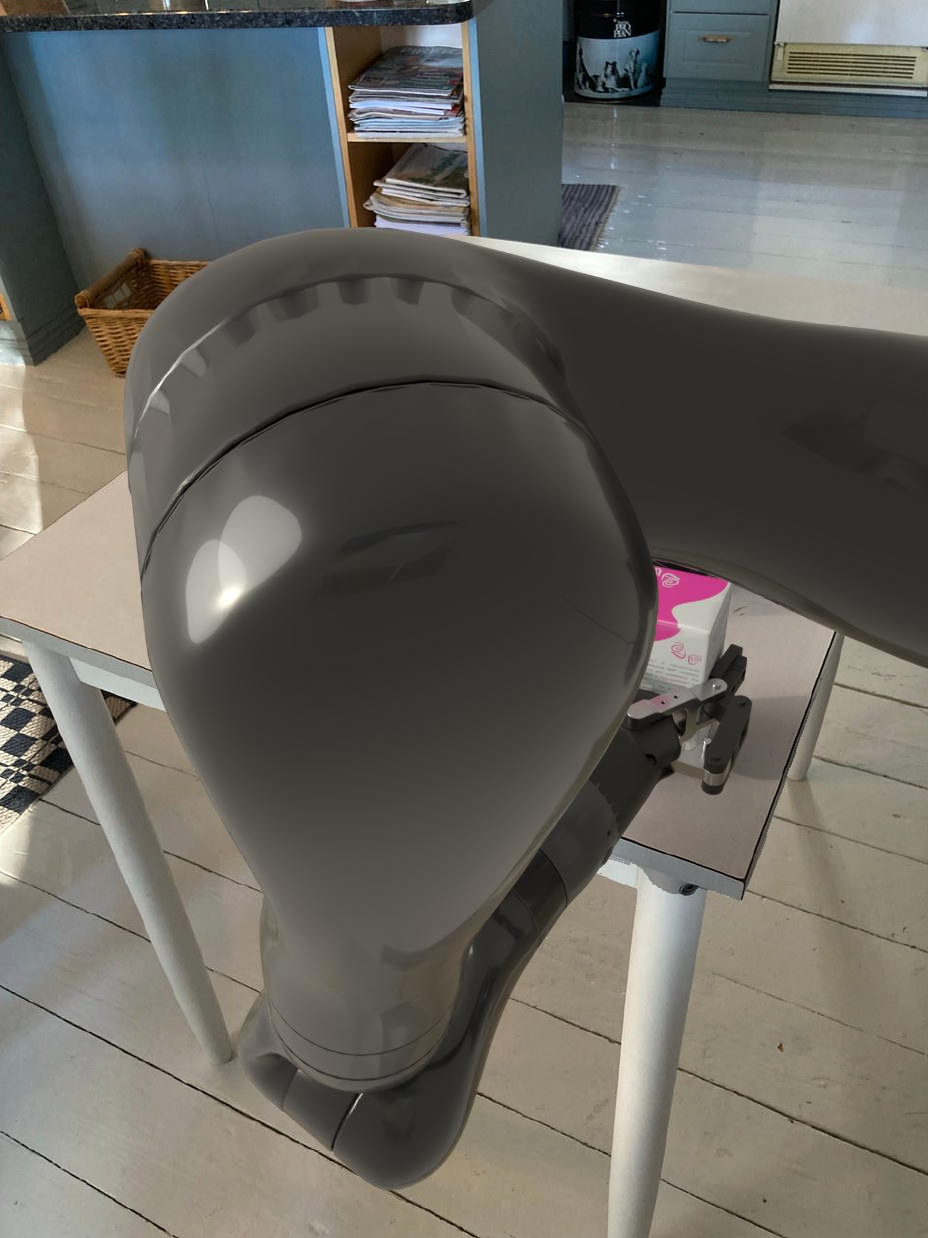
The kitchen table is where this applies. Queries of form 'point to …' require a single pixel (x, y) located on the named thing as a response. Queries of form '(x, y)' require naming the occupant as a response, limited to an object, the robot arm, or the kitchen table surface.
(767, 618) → the kitchen table surface
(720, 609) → the supplement box
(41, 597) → the kitchen table surface
